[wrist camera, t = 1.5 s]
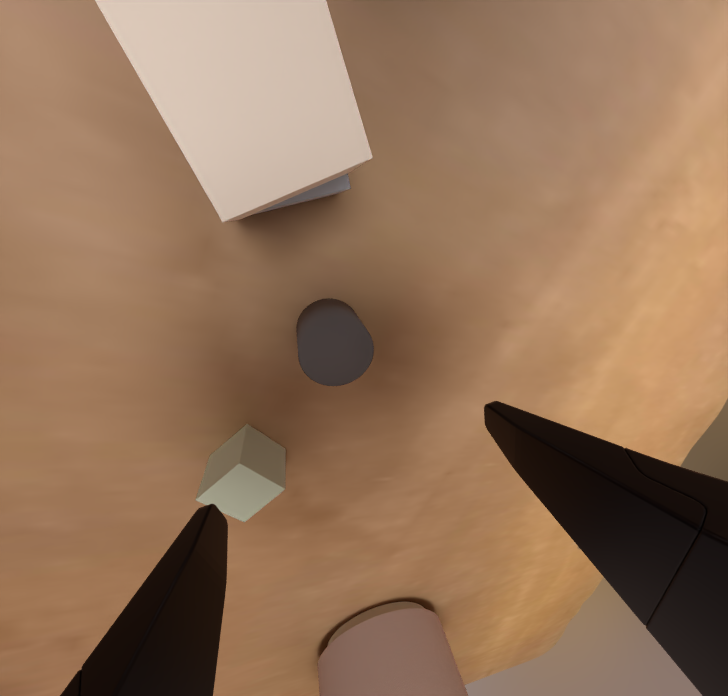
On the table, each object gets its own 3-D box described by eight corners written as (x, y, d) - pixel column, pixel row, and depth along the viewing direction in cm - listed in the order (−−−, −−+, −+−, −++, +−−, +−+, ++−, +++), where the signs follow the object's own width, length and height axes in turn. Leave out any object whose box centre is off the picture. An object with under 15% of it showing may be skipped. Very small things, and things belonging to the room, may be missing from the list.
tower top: (294, 10, 10) (298, -91, 7) (349, 172, 13) (372, 157, 10) (156, 65, 10) (88, -13, 7) (240, 219, 13) (222, 222, 9)
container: (289, 648, 37) (290, 814, 27) (408, 578, 37) (454, 719, 27) (354, 675, 46) (374, 810, 35) (451, 619, 45) (499, 738, 35)
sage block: (247, 422, 22) (239, 463, 18) (285, 448, 24) (285, 489, 20) (210, 454, 22) (195, 499, 19) (250, 477, 24) (244, 522, 20)
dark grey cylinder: (350, 290, 19) (364, 307, 16) (365, 346, 21) (380, 372, 18) (287, 309, 19) (286, 331, 15) (308, 364, 21) (312, 395, 17)
